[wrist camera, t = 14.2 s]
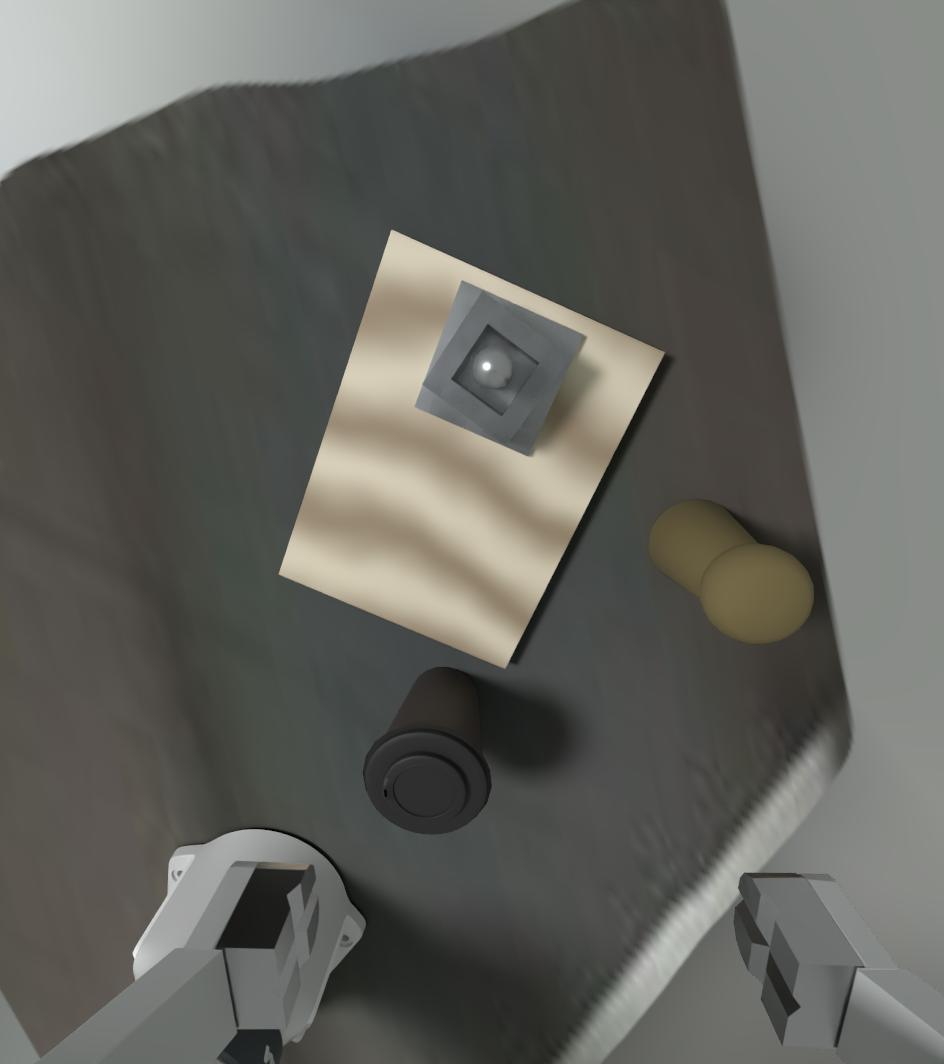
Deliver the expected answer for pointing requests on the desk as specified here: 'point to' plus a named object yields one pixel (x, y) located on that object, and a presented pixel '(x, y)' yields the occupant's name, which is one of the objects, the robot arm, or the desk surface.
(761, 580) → the cork
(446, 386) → the link
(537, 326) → the post
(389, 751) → the coffee cup
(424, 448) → the board
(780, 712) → the desk surface
